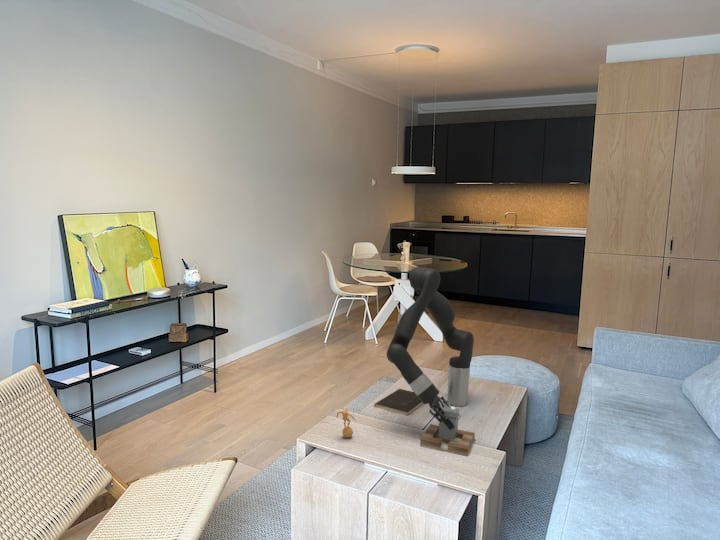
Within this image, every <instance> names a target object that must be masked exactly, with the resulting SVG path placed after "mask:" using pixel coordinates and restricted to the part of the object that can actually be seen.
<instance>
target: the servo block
mask: <svg viewBox="0 0 720 540" xmlns="http://www.w3.org/2000/svg"><path fill="white" fill-rule="evenodd" d="M456 407H457V406H453V405H451V406H449V407H443V408H444V411H445V414H446V416H447V417H448V419H449V420H450V421H451V422H452V424H453V425H454V428H453V429H451V430H449V429H448V427H447V426H446V425H445V424H444V422H441V423H440V422H439V421H438V425H439V436H441V437H445V438H450V439H455V438H456V436H457V430H458V429H459V427H458V426H459V420H460V419H461V418H462V414H461V413H460V408H456ZM441 412H442V410H441V411H440V413H441ZM442 415H443V414H442ZM443 416H444V415H443Z"/></svg>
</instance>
